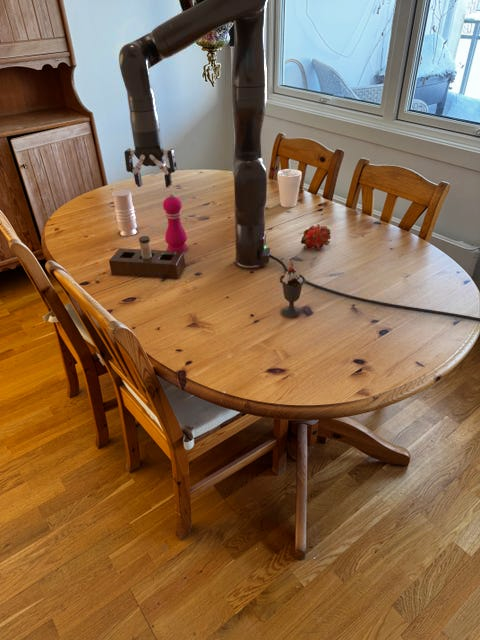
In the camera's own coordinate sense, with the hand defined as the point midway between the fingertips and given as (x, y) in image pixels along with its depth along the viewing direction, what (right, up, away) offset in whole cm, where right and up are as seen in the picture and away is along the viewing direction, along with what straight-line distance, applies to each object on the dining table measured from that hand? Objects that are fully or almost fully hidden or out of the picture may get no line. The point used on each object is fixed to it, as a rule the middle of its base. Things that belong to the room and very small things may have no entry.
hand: (154, 186), depth 135 cm
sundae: (+39, -37, -10) cm, 54 cm away
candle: (-16, -7, +36) cm, 40 cm away
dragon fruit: (+50, -15, +21) cm, 57 cm away
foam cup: (+45, +8, +55) cm, 71 cm away
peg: (-4, -23, +11) cm, 26 cm away
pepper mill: (+4, -15, +23) cm, 28 cm away
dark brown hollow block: (-4, -23, +11) cm, 26 cm away
